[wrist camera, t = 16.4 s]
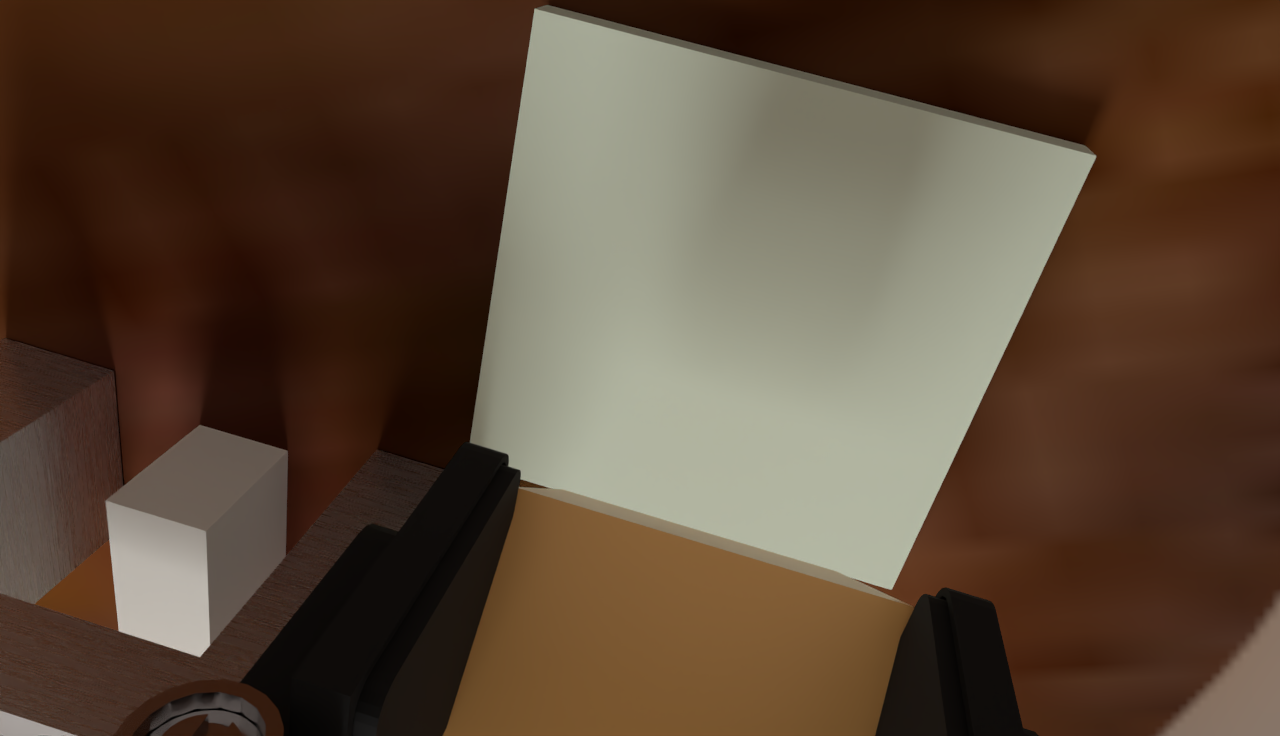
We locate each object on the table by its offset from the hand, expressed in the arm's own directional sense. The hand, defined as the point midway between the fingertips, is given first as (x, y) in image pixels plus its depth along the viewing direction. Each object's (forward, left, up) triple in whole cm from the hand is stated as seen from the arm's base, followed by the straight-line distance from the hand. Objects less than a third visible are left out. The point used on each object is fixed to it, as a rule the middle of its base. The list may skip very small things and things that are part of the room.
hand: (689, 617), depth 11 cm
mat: (0, 0, -9) cm, 9 cm away
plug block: (+1, 0, -2) cm, 2 cm away
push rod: (+14, -11, -9) cm, 20 cm away
